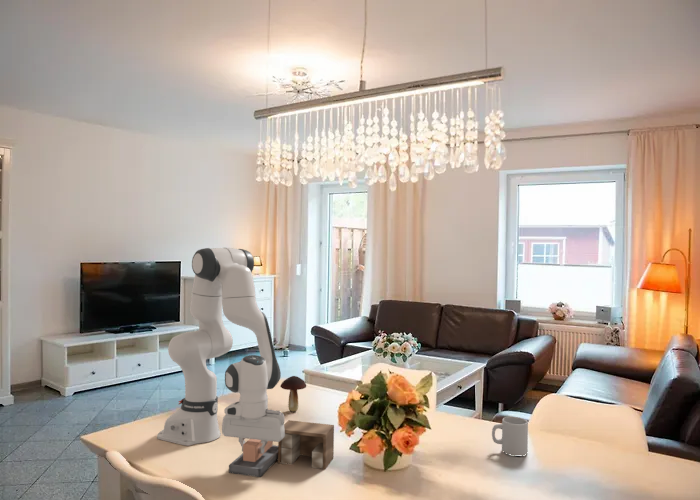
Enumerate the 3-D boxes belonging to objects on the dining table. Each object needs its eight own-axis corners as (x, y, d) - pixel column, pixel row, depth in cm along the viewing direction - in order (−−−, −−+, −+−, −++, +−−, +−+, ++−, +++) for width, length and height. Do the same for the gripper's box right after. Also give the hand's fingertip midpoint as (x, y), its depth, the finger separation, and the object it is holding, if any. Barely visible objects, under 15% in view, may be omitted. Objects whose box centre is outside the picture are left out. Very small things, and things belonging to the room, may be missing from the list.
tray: (228, 472, 158) (228, 465, 158) (254, 449, 176) (254, 442, 176) (260, 477, 155) (260, 469, 155) (283, 453, 173) (283, 446, 173)
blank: (243, 460, 159) (243, 444, 159) (261, 444, 173) (261, 429, 173) (255, 461, 158) (255, 445, 158) (272, 445, 172) (272, 430, 172)
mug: (524, 448, 181) (524, 417, 181) (530, 457, 173) (530, 425, 173) (489, 446, 183) (490, 415, 182) (493, 455, 174) (494, 423, 174)
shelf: (278, 463, 165) (278, 429, 165) (288, 452, 174) (288, 420, 174) (325, 469, 161) (325, 434, 161) (333, 458, 170) (333, 425, 170)
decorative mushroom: (304, 415, 212) (305, 379, 212) (278, 415, 212) (278, 379, 212) (307, 407, 223) (307, 373, 223) (282, 407, 223) (282, 372, 223)
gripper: (288, 408, 162) (287, 451, 162) (229, 402, 167) (228, 445, 167) (280, 414, 156) (280, 459, 156) (219, 408, 161) (219, 452, 161)
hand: (253, 452), depth 162 cm, fingers closed on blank, 4 cm apart
